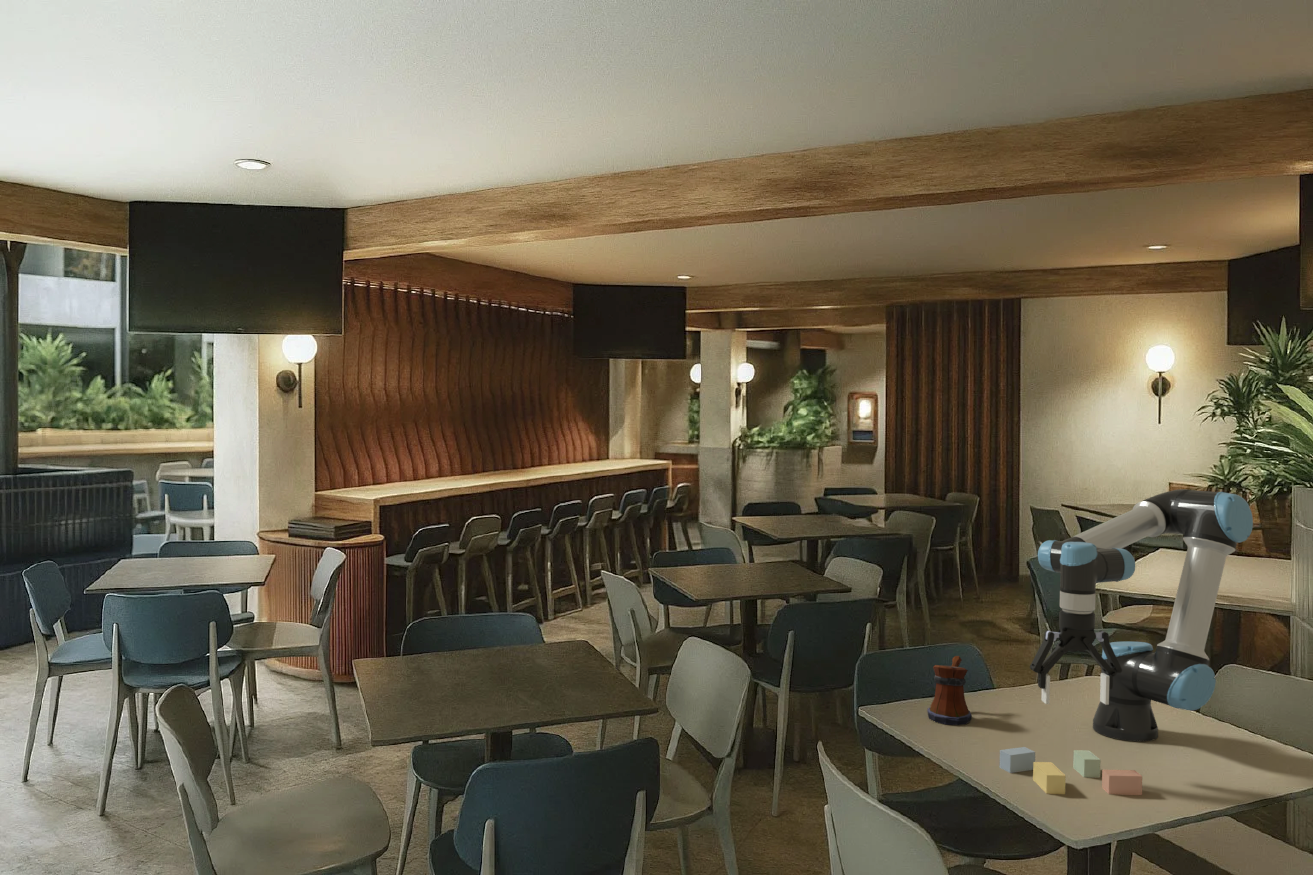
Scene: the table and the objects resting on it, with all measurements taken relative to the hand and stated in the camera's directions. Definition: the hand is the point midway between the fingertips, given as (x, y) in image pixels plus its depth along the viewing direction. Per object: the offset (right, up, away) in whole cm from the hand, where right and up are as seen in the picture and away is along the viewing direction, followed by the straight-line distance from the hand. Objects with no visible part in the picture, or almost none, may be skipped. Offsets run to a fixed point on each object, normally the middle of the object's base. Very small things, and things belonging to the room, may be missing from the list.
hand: (1074, 702), depth 229 cm
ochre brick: (-10, -16, -10) cm, 21 cm away
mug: (-16, -14, +40) cm, 46 cm away
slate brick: (-13, -16, +1) cm, 20 cm away
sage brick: (+2, -16, -1) cm, 16 cm away
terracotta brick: (+5, -16, -12) cm, 21 cm away
